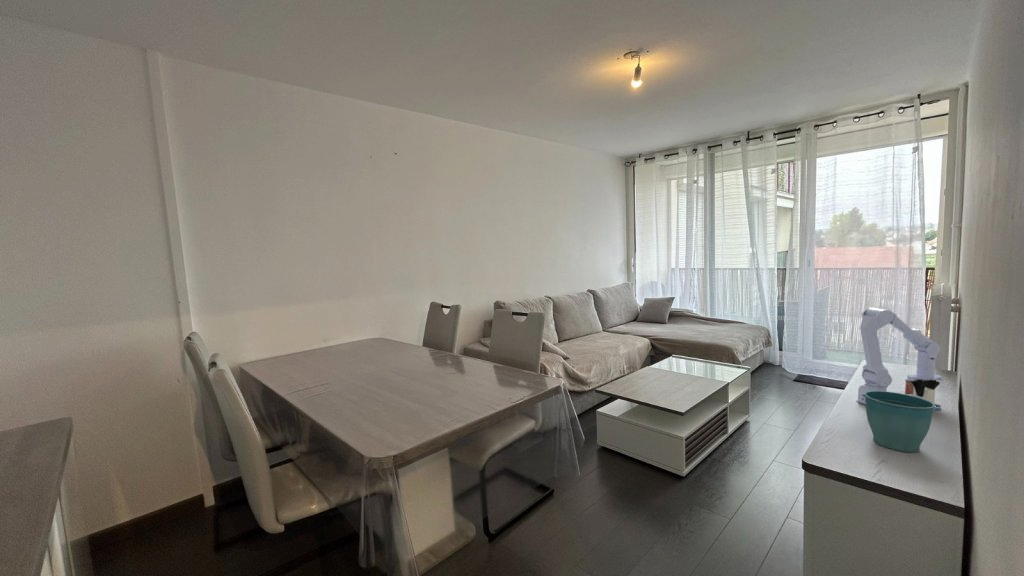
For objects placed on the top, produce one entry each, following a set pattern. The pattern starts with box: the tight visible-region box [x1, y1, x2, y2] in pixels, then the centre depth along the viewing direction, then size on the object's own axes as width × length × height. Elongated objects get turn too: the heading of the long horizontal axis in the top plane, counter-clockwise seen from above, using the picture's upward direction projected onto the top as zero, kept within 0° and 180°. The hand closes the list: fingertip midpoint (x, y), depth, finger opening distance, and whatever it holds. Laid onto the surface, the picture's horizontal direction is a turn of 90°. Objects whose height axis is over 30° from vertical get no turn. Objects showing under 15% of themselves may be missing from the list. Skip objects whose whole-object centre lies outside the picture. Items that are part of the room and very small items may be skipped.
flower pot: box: [864, 391, 935, 453], centre depth 143 cm, size 18×18×17 cm
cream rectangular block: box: [913, 387, 936, 404], centre depth 182 cm, size 4×6×7 cm, turn 3°
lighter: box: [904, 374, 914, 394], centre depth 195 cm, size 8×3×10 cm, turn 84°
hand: (923, 396), depth 182 cm, fingers closed on cream rectangular block, 3 cm apart
